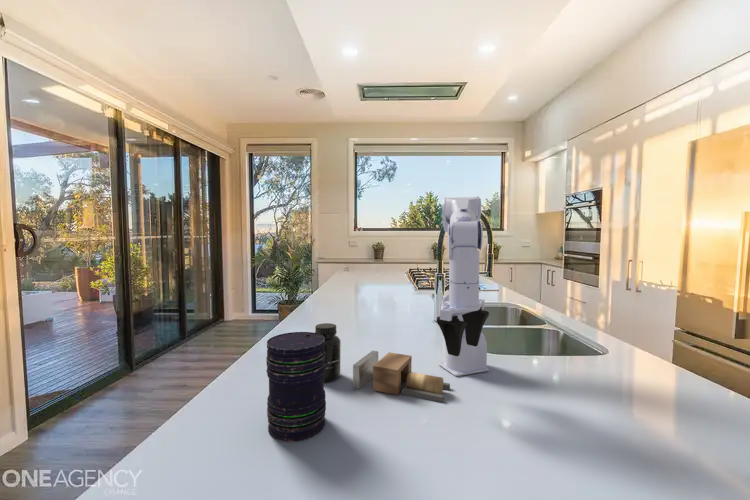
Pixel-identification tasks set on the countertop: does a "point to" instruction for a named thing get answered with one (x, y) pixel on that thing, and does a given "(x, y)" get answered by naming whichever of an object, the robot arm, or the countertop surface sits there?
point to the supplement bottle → (330, 350)
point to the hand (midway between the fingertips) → (463, 349)
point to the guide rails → (426, 393)
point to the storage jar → (296, 386)
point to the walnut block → (391, 373)
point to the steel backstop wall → (364, 369)
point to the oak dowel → (425, 383)
